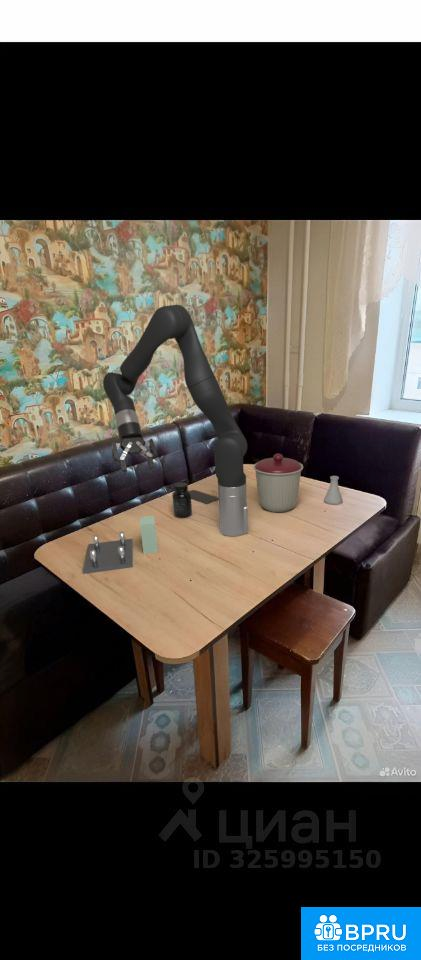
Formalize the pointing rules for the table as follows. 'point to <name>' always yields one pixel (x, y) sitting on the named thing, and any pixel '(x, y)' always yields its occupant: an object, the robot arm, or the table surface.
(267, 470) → the canister
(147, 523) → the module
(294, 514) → the table surface
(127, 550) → the plate
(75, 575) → the table surface
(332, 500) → the flask
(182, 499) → the supplement bottle
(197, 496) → the smartphone
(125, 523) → the table surface
